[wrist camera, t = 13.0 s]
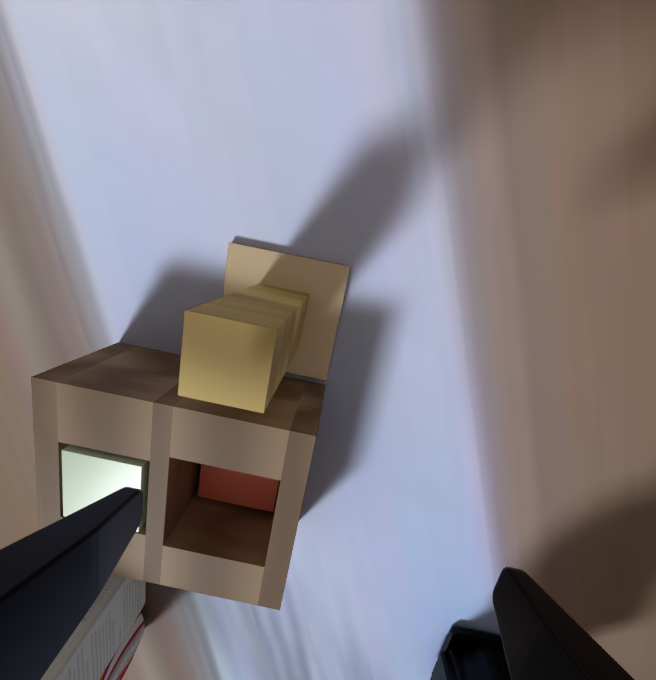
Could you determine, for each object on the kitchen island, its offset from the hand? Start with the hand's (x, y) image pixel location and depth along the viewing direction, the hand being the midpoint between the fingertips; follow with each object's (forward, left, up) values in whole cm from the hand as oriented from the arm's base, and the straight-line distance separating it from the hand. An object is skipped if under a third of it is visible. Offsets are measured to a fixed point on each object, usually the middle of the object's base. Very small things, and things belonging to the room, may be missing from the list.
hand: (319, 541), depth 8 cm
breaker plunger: (+5, +7, -12) cm, 15 cm away
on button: (+11, +7, -10) cm, 16 cm away
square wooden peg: (+4, -3, -13) cm, 13 cm away
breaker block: (+7, +7, -13) cm, 16 cm away
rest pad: (+4, -2, -13) cm, 14 cm away
